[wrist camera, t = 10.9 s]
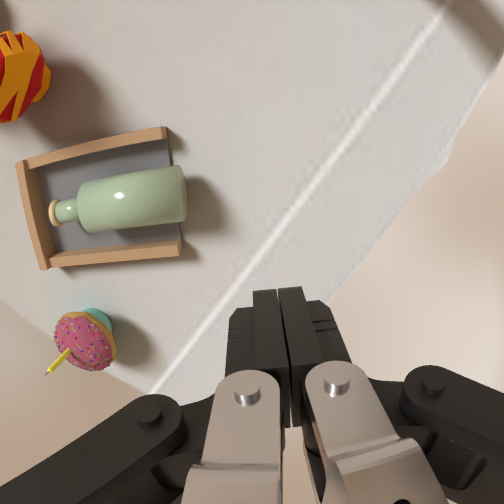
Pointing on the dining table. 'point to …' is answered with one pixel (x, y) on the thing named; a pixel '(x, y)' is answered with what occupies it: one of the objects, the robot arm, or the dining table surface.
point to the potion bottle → (20, 75)
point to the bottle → (126, 201)
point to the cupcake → (85, 340)
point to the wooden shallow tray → (67, 186)
